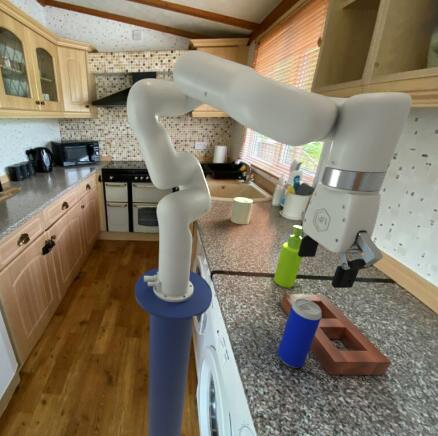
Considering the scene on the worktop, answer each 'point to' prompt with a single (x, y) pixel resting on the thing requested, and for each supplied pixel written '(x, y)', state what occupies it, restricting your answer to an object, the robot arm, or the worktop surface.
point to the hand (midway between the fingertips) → (321, 269)
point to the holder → (346, 331)
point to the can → (241, 210)
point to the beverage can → (299, 332)
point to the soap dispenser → (289, 260)
